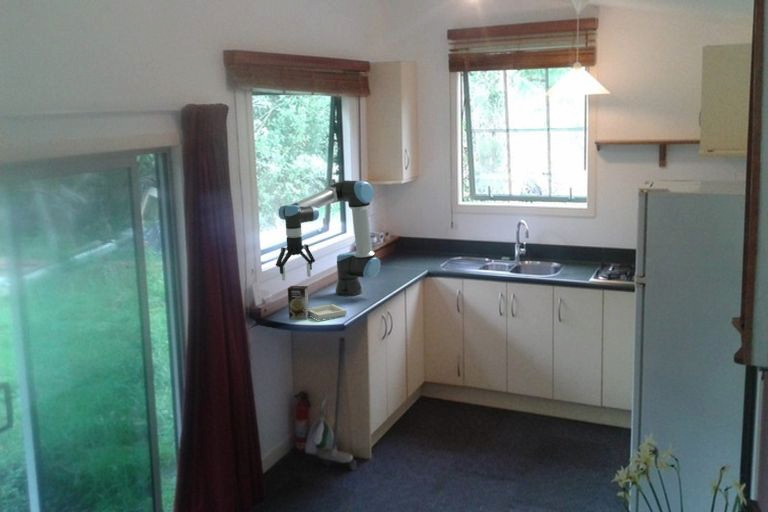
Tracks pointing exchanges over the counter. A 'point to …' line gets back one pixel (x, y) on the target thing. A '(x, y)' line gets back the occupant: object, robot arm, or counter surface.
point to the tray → (326, 312)
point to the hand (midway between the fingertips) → (296, 278)
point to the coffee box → (298, 302)
